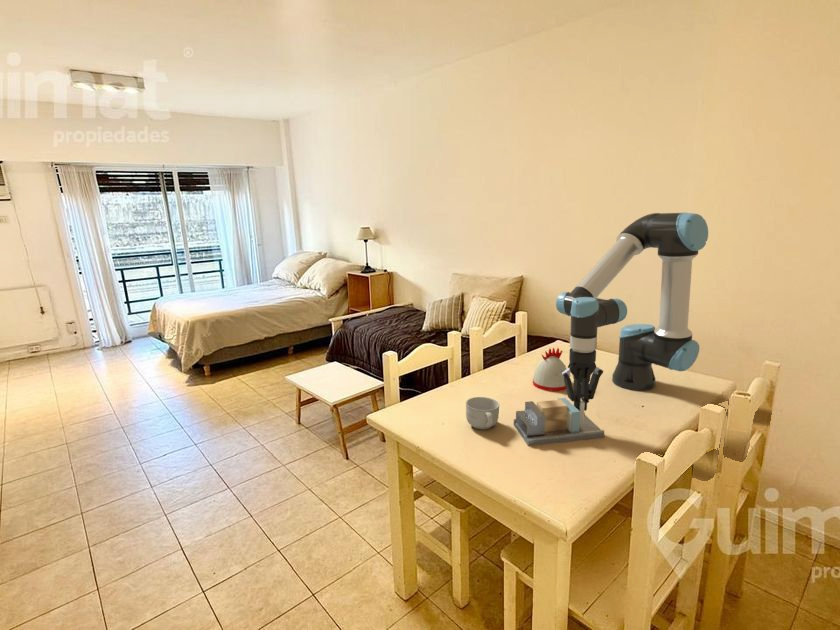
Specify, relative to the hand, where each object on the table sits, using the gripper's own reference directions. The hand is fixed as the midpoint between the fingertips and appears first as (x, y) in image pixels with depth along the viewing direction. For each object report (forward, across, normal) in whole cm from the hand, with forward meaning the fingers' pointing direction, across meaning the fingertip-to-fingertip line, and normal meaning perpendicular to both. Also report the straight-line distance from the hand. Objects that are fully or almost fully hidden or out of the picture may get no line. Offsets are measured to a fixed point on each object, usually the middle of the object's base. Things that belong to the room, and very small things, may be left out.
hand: (579, 419), depth 137 cm
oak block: (+2, +9, 0) cm, 9 cm away
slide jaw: (+1, +4, 0) cm, 4 cm away
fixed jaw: (+1, +16, 0) cm, 16 cm away
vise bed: (+3, +7, 0) cm, 8 cm away
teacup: (+3, +29, -7) cm, 30 cm away
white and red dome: (+3, -6, -35) cm, 36 cm away
